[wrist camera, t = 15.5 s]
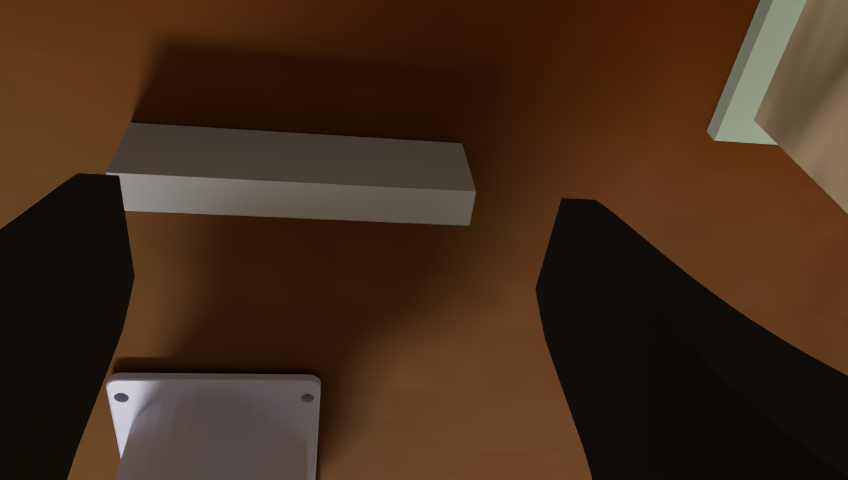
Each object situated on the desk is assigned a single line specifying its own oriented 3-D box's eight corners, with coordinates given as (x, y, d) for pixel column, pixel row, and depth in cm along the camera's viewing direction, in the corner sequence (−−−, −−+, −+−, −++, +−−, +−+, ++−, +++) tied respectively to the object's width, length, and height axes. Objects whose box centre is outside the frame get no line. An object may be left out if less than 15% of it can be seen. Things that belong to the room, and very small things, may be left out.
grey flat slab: (456, 175, 23) (469, 225, 21) (134, 157, 21) (112, 210, 19) (531, -244, 16) (562, -236, 14) (71, -315, 15) (25, -318, 13)
